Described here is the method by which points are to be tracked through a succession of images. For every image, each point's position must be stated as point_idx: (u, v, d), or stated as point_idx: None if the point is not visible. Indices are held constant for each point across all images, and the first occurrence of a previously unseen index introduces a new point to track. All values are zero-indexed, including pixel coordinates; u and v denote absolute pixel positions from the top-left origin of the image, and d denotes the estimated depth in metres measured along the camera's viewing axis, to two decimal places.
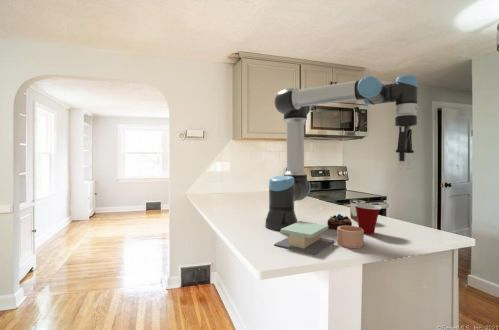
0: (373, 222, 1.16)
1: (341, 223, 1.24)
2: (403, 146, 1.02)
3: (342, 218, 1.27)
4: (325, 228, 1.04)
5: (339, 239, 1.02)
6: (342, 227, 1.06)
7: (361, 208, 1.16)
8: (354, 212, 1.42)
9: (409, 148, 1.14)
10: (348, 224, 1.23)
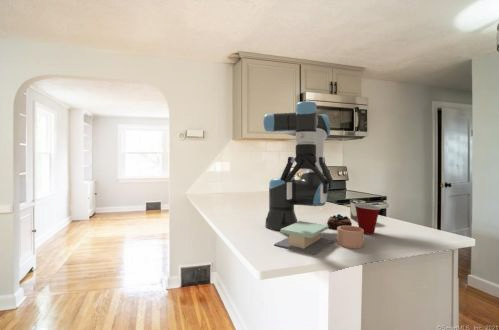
0: (373, 222, 1.16)
1: (341, 223, 1.24)
2: None
3: (342, 218, 1.27)
4: (325, 228, 1.04)
5: (339, 239, 1.02)
6: (342, 227, 1.06)
7: (361, 208, 1.16)
8: (354, 212, 1.42)
9: None
10: (348, 224, 1.23)
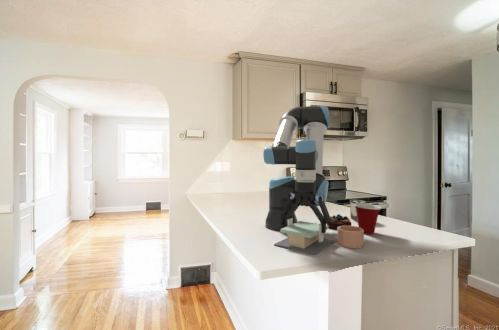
0: (373, 222, 1.16)
1: (341, 223, 1.24)
2: None
3: (341, 218, 1.27)
4: None
5: (339, 239, 1.02)
6: (342, 227, 1.06)
7: (361, 208, 1.16)
8: (354, 212, 1.42)
9: None
10: (348, 224, 1.23)
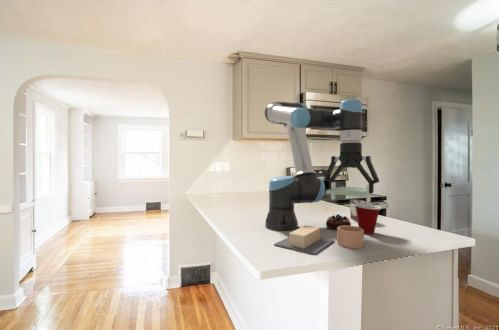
0: (373, 222, 1.16)
1: (340, 223, 1.24)
2: None
3: (341, 218, 1.27)
4: None
5: (339, 239, 1.02)
6: (342, 227, 1.06)
7: (361, 208, 1.16)
8: (354, 212, 1.42)
9: None
10: (347, 224, 1.23)
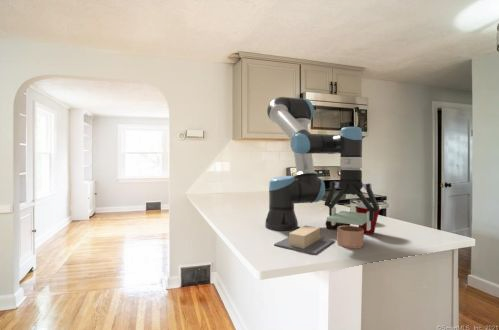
0: (373, 222, 1.16)
1: (339, 223, 1.23)
2: None
3: None
4: None
5: (339, 239, 1.02)
6: (342, 227, 1.06)
7: (361, 208, 1.16)
8: None
9: None
10: (346, 224, 1.23)
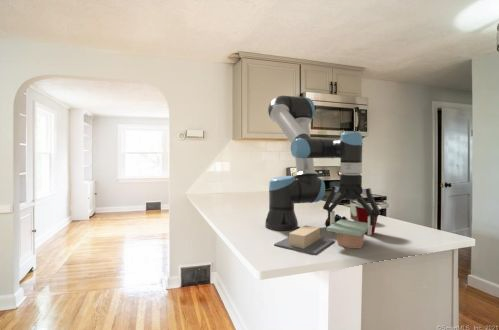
0: None
1: None
2: None
3: (340, 218, 1.27)
4: None
5: (339, 239, 1.02)
6: None
7: (361, 208, 1.16)
8: (354, 212, 1.42)
9: None
10: None
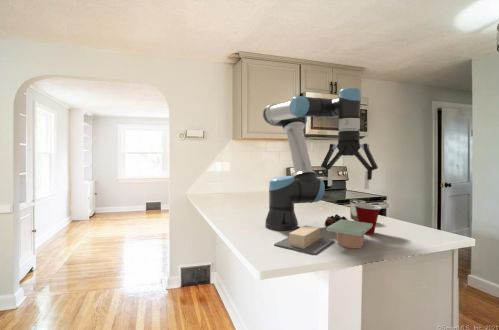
0: (373, 222, 1.16)
1: None
2: None
3: (339, 218, 1.27)
4: (370, 226, 1.03)
5: (339, 239, 1.02)
6: None
7: (361, 208, 1.16)
8: (354, 212, 1.42)
9: None
10: None
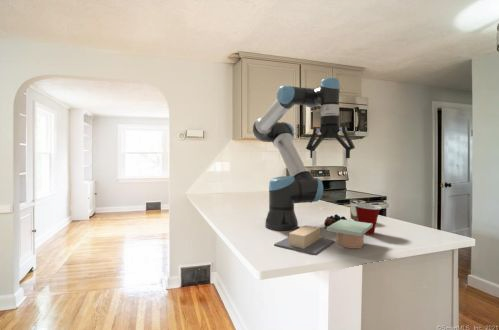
0: (373, 222, 1.16)
1: None
2: None
3: (339, 218, 1.27)
4: (370, 226, 1.03)
5: (339, 239, 1.02)
6: None
7: (361, 208, 1.16)
8: (354, 212, 1.42)
9: None
10: None
